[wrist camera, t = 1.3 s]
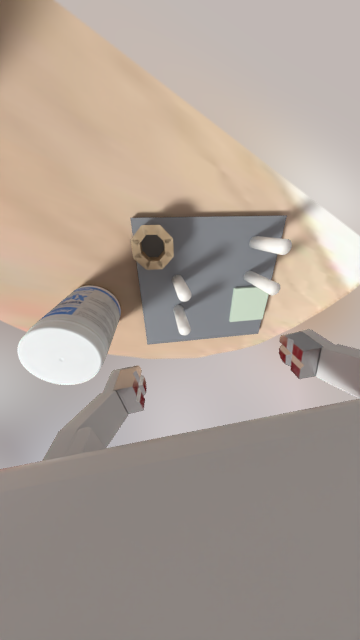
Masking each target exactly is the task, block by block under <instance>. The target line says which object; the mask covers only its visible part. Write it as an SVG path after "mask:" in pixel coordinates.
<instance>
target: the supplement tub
mask: <svg viewBox="0 0 360 640" xmlns="http://www.w3.org/2000/svg"><path fill="white" fill-rule="evenodd" d="M120 315H121V308H120V304H119V302H118V300H117V299H116V297H115V296H114V295H113V294H112V293H110V292H109V291H108V290H106V289H104V288H101V287H98V286H83V287H80V288H78V289H76V290H74V291H73V292H72V293H71V294H70V295H69V296H67V297H66V298H65V299H64V300H63V301H62V302H60V303H59V304H58V305H57V306H56V307H55V308H53V309H52V310H51V311H50V312H49V313H47V314H46V315H45V316H44V317H43V318H42V319H40V320H39V321H38V322H37V323H36V324H35V325H34V326H32V327H31V328H30V329H29V330H28V332H27V333H26V334H25V336H23V337H22V339H21V340H20V342H19V344H18V349H17V351H18V357H19V360H20V361H21V363H22V365H23V366H24V367H25V368H26V369H27V370H28V371H29V372H30V373H31V374H33V375H34V376H36V377H38V378H40V379H42V380H44V381H47V382H50V383H54V384H60V385H61V384H62V385H73V384H80V383H83V382H86V381H88V380H90V379H92V378H93V377H94V376H96V375H97V373H98V372H99V371H100V369H101V367H102V365H103V363H104V361H105V358H106V355H107V353H108V350H109V347H110V344H111V342H112V339H113V336H114V333H115V330H116V327H117V325H118V322H119V319H120Z"/></svg>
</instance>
